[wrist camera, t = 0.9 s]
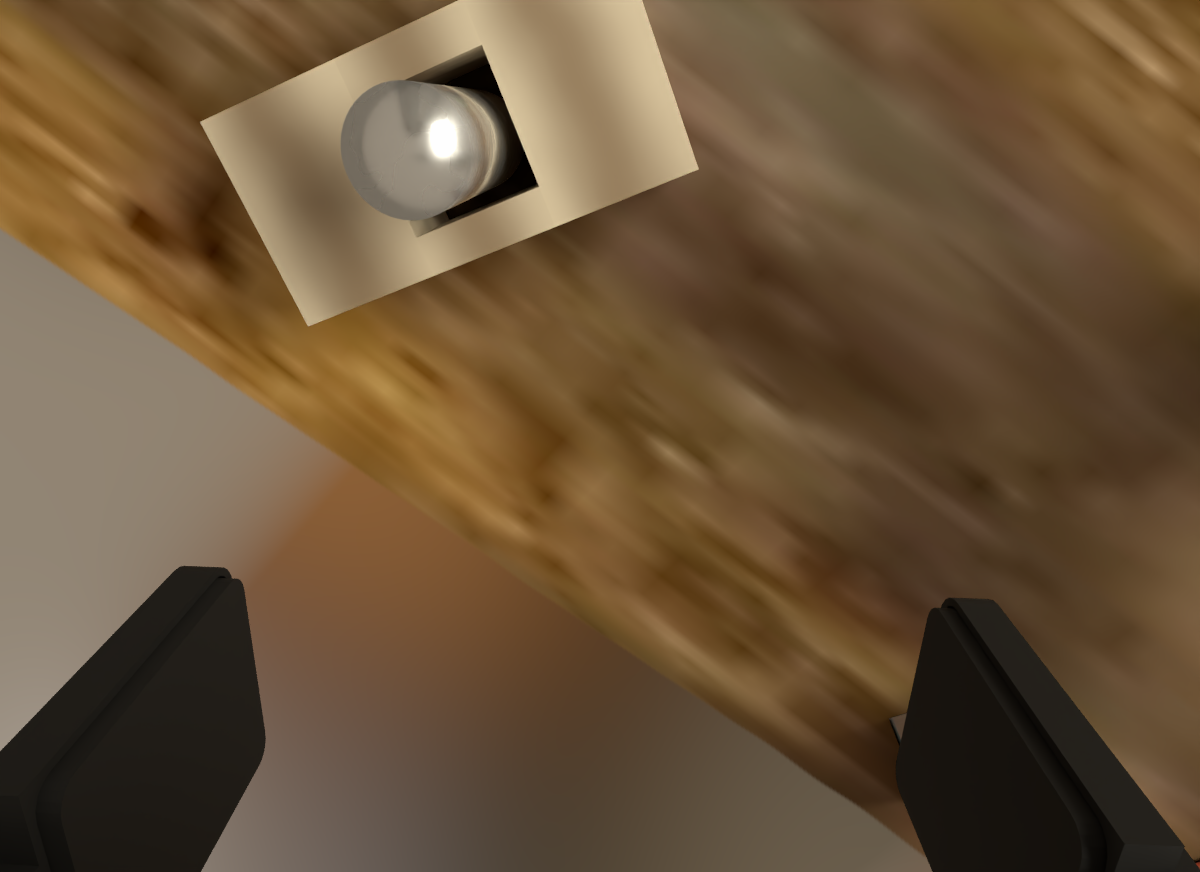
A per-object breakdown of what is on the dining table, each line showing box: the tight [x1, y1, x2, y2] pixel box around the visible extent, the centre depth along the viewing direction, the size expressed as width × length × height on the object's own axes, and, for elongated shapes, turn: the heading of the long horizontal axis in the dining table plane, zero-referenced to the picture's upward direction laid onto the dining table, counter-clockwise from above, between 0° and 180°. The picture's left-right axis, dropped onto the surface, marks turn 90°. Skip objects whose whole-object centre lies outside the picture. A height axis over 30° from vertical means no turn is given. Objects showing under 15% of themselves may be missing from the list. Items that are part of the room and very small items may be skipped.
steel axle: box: [340, 80, 524, 220], centre depth 33 cm, size 4×4×12 cm
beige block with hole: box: [200, 0, 698, 326], centre depth 35 cm, size 18×9×6 cm, turn 112°
